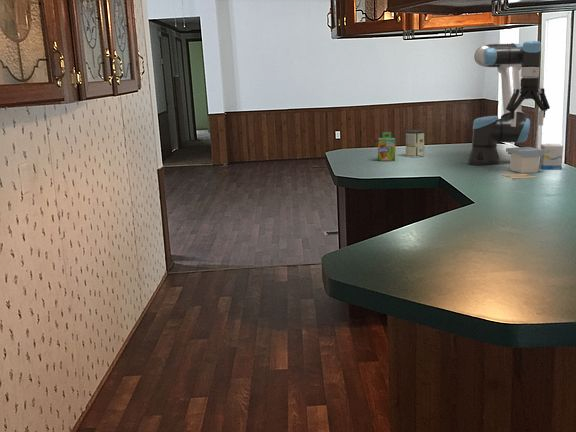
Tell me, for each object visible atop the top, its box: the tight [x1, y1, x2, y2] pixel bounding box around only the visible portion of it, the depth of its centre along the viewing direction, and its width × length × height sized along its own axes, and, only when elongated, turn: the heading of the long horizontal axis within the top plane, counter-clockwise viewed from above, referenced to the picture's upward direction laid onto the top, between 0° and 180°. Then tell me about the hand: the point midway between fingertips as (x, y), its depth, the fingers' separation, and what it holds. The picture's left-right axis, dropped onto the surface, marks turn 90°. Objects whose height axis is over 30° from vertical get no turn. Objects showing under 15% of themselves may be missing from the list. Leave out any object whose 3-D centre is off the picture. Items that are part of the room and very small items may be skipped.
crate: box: [509, 153, 540, 174], centre depth 285 cm, size 10×8×9 cm
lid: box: [505, 146, 545, 158], centre depth 284 cm, size 12×12×3 cm
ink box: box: [539, 143, 564, 171], centre depth 291 cm, size 9×8×12 cm
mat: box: [501, 173, 538, 180], centre depth 273 cm, size 10×11×1 cm
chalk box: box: [377, 131, 397, 162], centre depth 333 cm, size 9×9×15 cm
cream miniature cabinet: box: [405, 129, 426, 158], centre depth 346 cm, size 10×10×14 cm
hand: (526, 126), depth 281 cm, fingers open, 13 cm apart
